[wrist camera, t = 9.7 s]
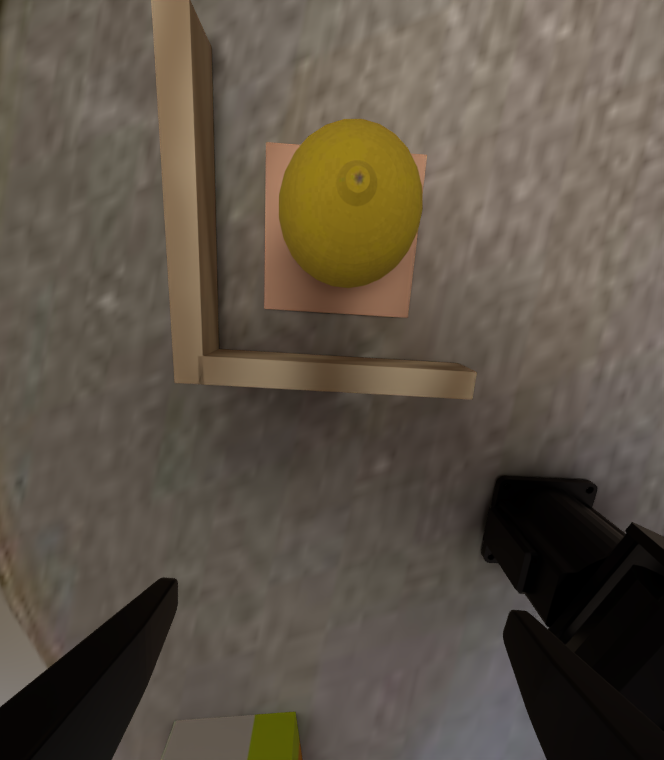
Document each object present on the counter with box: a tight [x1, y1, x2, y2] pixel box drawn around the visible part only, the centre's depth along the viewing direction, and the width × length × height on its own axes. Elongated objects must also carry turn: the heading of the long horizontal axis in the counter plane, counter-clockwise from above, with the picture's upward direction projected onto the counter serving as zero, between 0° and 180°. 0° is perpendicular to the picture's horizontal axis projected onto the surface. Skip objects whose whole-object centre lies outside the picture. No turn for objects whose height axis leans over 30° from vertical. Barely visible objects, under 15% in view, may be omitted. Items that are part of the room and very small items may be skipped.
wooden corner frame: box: [151, 0, 477, 399], centre depth 16 cm, size 16×16×2 cm
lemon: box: [279, 119, 422, 288], centre depth 13 cm, size 6×6×8 cm
